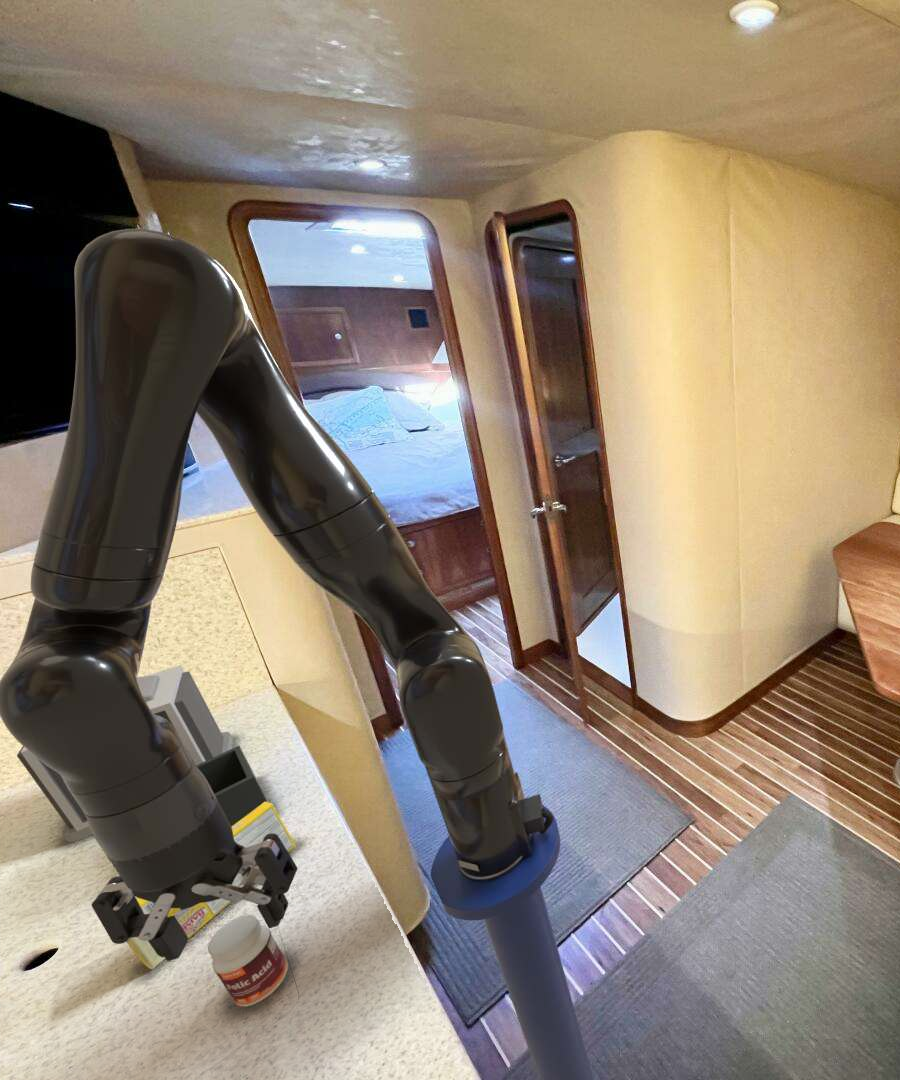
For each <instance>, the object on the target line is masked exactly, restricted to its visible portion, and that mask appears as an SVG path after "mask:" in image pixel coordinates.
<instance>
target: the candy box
mask: <svg viewBox="0 0 900 1080" xmlns="http://www.w3.org/2000/svg"><path fill="white" fill-rule="evenodd" d="M232 832H233V837H234V840H235V842H236V843H238V844H239V845H241V846H243V847H245V848H247V847H250V846H253V845H256V844H259V843H262V841H263V839H264V837H265V836H266V835H268V834H272V833H273V834H277V835H278V836H279V838H280V840H281V841H282V843H283V845H284V846H285V848H286V850H287V851H288V853H289V854H290V852H292V851H293V850H294V849H296V848H297V845H296V842H295V841H294V839H293V837H292V836H291V834H290V833H289V831H288V830H287V827H286V826H285V824H284V822H283V821H282V819H281V817H280V815H279V813H278V812H277V810H276V808H275V805H274V804H273V803H272V802H268V801H267V802H264V803H262V804H261V805H260V806H258V807H257V808H256V809H254V810H253V811H252V812H250V813H249V814H248V815H246V816H245V817H244V818H242V819H241V820H240V821H238V822H237V823H236V824H234V825H233V826H232ZM242 878H243V877H242V875H241V874H239V873H238V874H237V876H236V878H235V880H234V881H233V883H232V885H234V886H237V887H239V885H240V883H241V881H242ZM136 899H137V901H138V903H139V905H140V907H141V909H142V911H143V912H144V914H150V913H151V911H152V909H153V908H154V906H155V903H153V902H150V901H147V900H143V899H140V898H137V897H136ZM231 903H233V902H232V901H229V900H225V899H222V898H220V899H217V900H214V901H210V902H203V903H199V904H197V905H195V906H193V907H190V908H187V909H184V910H181V909H180V908H171V910H170V912H169V914H168V915H167V916H168V917H170V916H175V917H176V919H177V921H178V922H179V924H180V925H181V927H182V928H183V930H184V932H185V933H186V935H187V936H188V940H189V939H190V938H191V937H192V936H193V935H194V934H196V933H198V931H199V930H201V929H202V928H203V927H204V926H205V925H207V924H208V923H209V922H210V921H211V920H212V919H214V918H215V917H216V915H218V914H220V912H221V911H222V910H224V909H225V908H227V906H228V905H229V904H231ZM126 943H127V944H128V945H129V947H130V948H131V950H132V951H133V952H134V954H135V955H136V956H137V958H138V959H139V960H140V962H141V963H142V964H143V965H144V966H145V967H146V968H148V969H150V970H153V969H155V968H156V967H157V966H158V965H160V964H161V963H162V962H164V960H166V958H165V957H160V956H158V955H157V953H156V952H155V950H154V948H153V947H152V946H151V945H150V943H149V942H148V941H142V940H140V939H139V937H133V938H129V939H128V941H127V942H126Z"/></svg>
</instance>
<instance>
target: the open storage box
mask: <svg viewBox="0 0 900 1080" xmlns="http://www.w3.org/2000/svg"><path fill="white" fill-rule="evenodd" d="M196 767H197V768H198V769H199V770H200V771H201V773H202V774H203V775H204V776H205V778H206V780H207V781H208V783H209V785H210V787H211V789H212V791H213V793H214V795H215V796H216V798H217V800H218V802H219V804H220V806H221V808H222V810H223V812H224V814H225V815H226V817H227V819H228V821H229V823H230V825H231V827H232V826H233V825H234V824H236V823H237V822H238V821H240V820H241V819H242V818H244V817H245V816H246V815H248V814H249V813H250V812H252V811H253V810H254V809H256V808H257V807H258V806H260V805H261V804H262V803H264V802H268V800H267V798H266V796H265V793H264V791H263V789H262V787H261V785H260V783H259V780H258V779H257V777H256V775H255V773H254V770H253V769H252V767H251V765H250V764H249V762H248V759H247V757H246V755H245V754H244V752H243V749H242V748H241V746H240V745H237V746H235V747H232V749H230V750H228V751H226V752H224V753H222V754H220V755H218V756H215V757H213V758H211V759H209V760H207V761H205V762H203V763H200V764H198V765H196Z"/></svg>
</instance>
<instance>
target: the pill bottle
mask: <svg viewBox="0 0 900 1080" xmlns="http://www.w3.org/2000/svg"><path fill="white" fill-rule="evenodd" d="M207 952H208V954H209V955H210V958H211V959H212V964H211V965H212V970H213V972H214V974H216V975H217V977H218V979H219V980H220V982H221V983H222V985H223V986H224V988H225V990H226V991H227V993H228V994H229V996H230V998H231V999H232V1000H233V1002H234V1003H235V1004H236V1005H237V1006H238V1007H250V1006H253V1005H256V1004H258V1003H260V1002H261V1001H263V1000H265V999H266V998H268V997H269V996H270V995H272V993H274V992H275V991H276V990H277V989H278V988H279V987H280V985H281V984H282V982H283V981H284V979H285V977H286V976H287V972H288V968H289V964H288V961H287V959H286V957H285V955H284V954H283V952H282V951H281V949H280V947H279V945H278V943H277V941H276V939H275V938H274V936H273V934H272V932H271V930H270V928H268V926H267V925H265V924H261V923H260V920H259V919H258V918H257V916H255V915H254V914H243V915H239V916H236V917H235V918H233V919H230V921H228V922H226V923H225V924H224V925H222V926H221V927H220V928H219V929H218V930H217V931H216V932H215V933H214V934H213V936H212V937H211V939H210V940H209V942H208V945H207Z"/></svg>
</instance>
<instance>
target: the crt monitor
mask: <svg viewBox="0 0 900 1080" xmlns="http://www.w3.org/2000/svg"><path fill="white" fill-rule="evenodd" d="M137 683H138V686H139V689H140V691H141V694H142V696H143V698H144V700H145V701H146V703H147V705H148V706H149V708H150V710H151V711H152V713H153V715H157V716H160V717H162V718H164V719H166V720H167V721H168V722H169V723H170V724H171V725H172V726H173V728H174V729H175V730H176V732H177V734H178V735H179V737H180V739H181V741H182V742H183V744H184V746H185V748H186V750H187V752H188V754H189V756H190V757H191V760H192V761H193V763H194V764H195V766H196V765H198V764H200V763H203V762H205V761H207V760H209V759H211V758H213V757H215V756H218V755H220V754H222V753H224V752H226V751H228V750H230V749H233V747H234V746H233V743H234V738H233V736H232V734H231V732H229V731H222V730H221V729H220V727H219V726H218V724H217V722H216V720H215V718H214V716H213V714H212V712H211V710H210V708H209V706H208V704H207V703H206V701H205V699H204V696H203V695H202V693H201V691H200V689H199V687H198V685H197V683H196V682H195V680H194V678H193V676H192V673H191V672H190V671H185V670H184V668H183V667H182V665H176V666H173V667H170V668H167V669H163V670H160V671H157V672H154V673H150V674H146V675H144V676H137ZM16 757H17V759H18V760H19V761H20V763H21V764H22V765H23V766H24V768H25V769H26V771H27V772H28V774H29V775H30V777H32V779H33V780H34V782H35V783H36V785H37V786H38V787H39V789H40V790H41V792H42V793H43V794H44V796H45V797H46V799H47V800H48V801H49V802H50V804H51V805H52V807H53V808H54V810H55V811H56V812H57V813H58V815H59V817H60V818H61V819H62V821H63V822H64V823H65V824H64V826H63V829H62V831H61V835H62V836H63V838H64V839H65V840H66V842H68V843H69V844H70V843H71V844H72V843H76V842H79V841H82V840H83V839H85V838H89V837H91V836H93V834H92V831H91V829H90V826H89V823H88V820H87V818H86V816H85V814H84V812H83V811H82V809H81V808H80V806H79V805H78V803H77V801H76V800H75V798H74V797H73V795H72V794H71V792H70V791H69V789H68V788H67V786H66V784H65V782H64V780H63V778H62V776H61V775H60V774H59V773H57V772H56V771H54V770H53V769H51V768H50V767H48V766H47V765H45V764H44V763H43V762H42V761H41V760H39V759H38V758H37V757H36V756H35V755H33V754H32V753H31V752H30V751H29V750H27V749H26V748H25V747H24V746H23V745H22V746H21V748H20V750H19V751H18V753H17V754H16Z"/></svg>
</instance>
